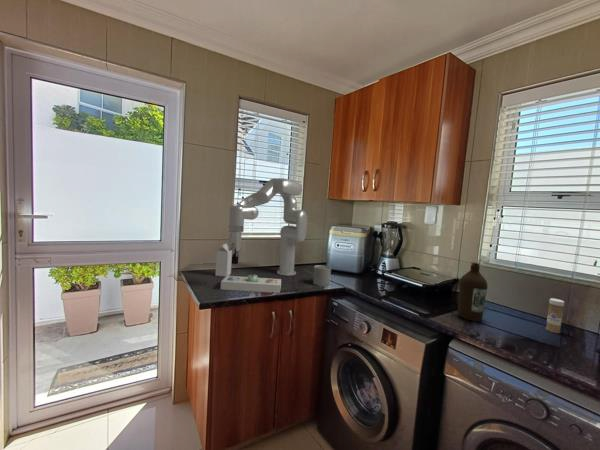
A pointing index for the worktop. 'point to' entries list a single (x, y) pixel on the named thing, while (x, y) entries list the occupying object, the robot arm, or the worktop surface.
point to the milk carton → (223, 261)
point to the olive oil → (472, 294)
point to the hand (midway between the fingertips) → (234, 263)
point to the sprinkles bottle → (555, 315)
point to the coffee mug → (321, 275)
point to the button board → (251, 285)
